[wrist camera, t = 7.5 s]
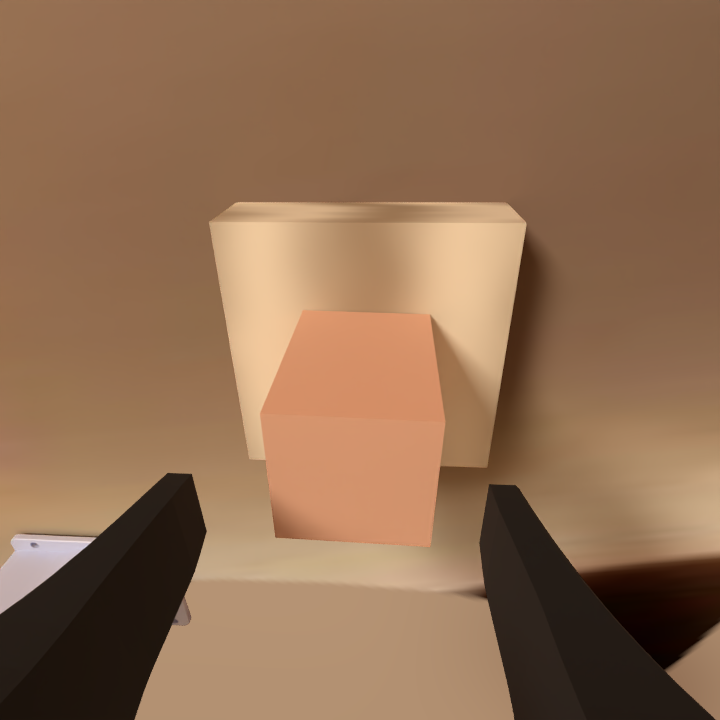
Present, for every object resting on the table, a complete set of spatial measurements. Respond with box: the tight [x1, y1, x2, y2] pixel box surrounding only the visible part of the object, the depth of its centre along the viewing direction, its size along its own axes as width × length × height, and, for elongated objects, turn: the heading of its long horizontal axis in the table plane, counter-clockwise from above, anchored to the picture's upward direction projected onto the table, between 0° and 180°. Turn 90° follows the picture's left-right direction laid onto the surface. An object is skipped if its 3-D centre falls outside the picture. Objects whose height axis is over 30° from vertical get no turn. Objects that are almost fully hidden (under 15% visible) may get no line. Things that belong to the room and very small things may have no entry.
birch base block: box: [209, 202, 527, 468], centre depth 19 cm, size 10×10×4 cm
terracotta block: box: [260, 310, 445, 547], centre depth 15 cm, size 4×4×6 cm
